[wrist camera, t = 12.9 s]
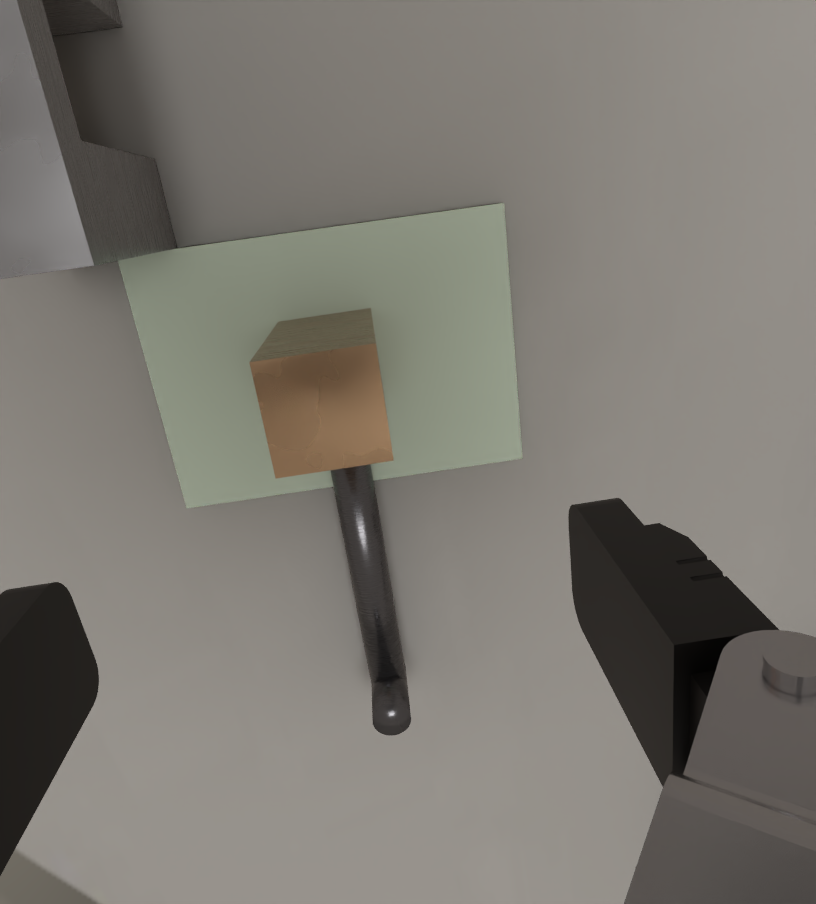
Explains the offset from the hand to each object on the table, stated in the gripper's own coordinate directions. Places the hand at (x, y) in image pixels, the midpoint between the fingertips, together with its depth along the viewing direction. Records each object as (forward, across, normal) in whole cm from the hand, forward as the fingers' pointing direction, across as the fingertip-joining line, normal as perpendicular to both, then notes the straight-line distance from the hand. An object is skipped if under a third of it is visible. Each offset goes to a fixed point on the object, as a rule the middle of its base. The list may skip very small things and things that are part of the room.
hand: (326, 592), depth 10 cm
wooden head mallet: (+16, +1, +7) cm, 17 cm away
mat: (+16, 0, 0) cm, 16 cm away
